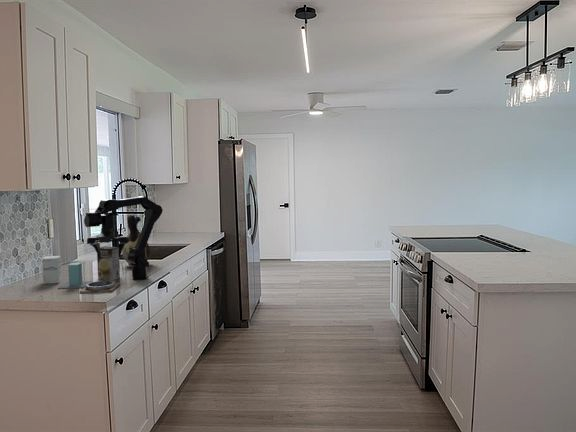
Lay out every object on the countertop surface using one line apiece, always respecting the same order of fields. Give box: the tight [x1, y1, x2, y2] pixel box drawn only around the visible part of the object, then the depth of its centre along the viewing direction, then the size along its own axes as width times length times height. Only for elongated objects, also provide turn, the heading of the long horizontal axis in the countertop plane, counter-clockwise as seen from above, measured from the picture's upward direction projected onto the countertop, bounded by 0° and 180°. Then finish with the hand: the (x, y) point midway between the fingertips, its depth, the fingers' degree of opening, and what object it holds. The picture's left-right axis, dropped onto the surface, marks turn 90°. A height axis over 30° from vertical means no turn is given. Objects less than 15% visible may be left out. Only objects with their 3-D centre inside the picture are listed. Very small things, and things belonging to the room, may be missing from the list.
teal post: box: [67, 262, 83, 286], centre depth 220 cm, size 4×4×10 cm
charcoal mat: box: [57, 280, 94, 290], centre depth 220 cm, size 12×12×1 cm
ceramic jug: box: [121, 214, 151, 268], centre depth 265 cm, size 17×15×30 cm
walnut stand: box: [79, 282, 121, 294], centre depth 213 cm, size 14×14×1 cm
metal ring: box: [86, 280, 116, 290], centre depth 213 cm, size 12×12×2 cm
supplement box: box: [41, 255, 63, 285], centre depth 227 cm, size 7×7×13 cm
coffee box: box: [96, 245, 121, 281], centre depth 234 cm, size 9×6×16 cm
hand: (109, 257), depth 222 cm, fingers open, 9 cm apart
